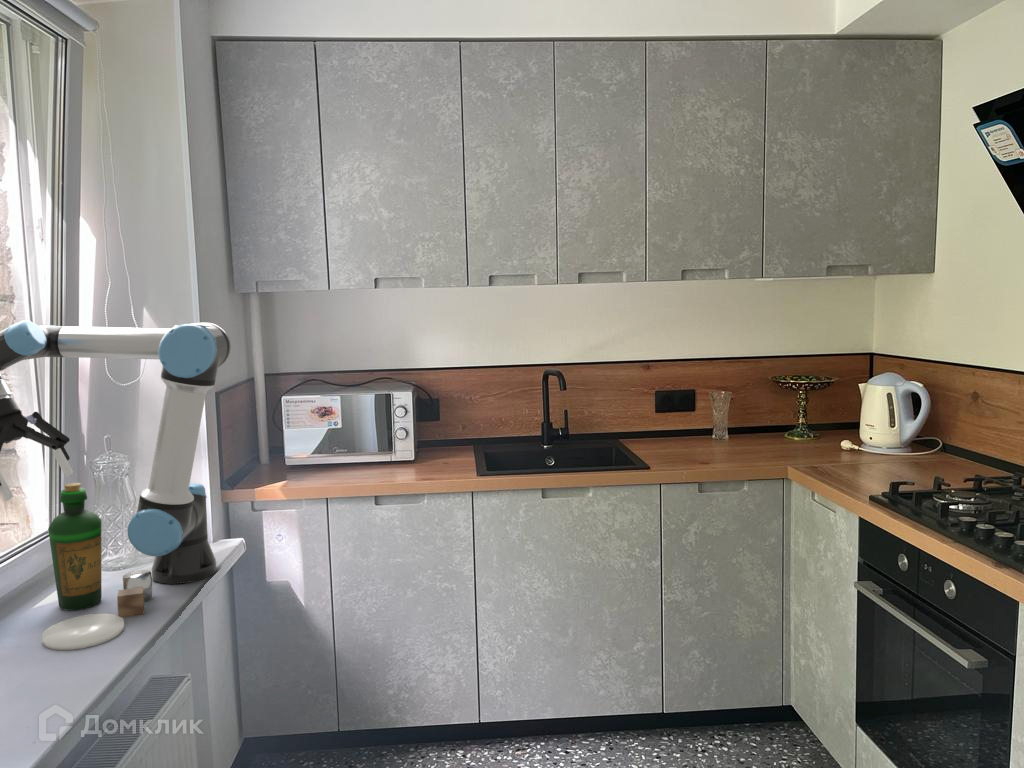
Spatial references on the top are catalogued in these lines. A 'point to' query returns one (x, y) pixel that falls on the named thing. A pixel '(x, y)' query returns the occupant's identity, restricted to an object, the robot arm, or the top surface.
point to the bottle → (76, 551)
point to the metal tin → (139, 582)
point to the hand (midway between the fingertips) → (40, 486)
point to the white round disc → (82, 631)
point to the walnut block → (130, 602)
